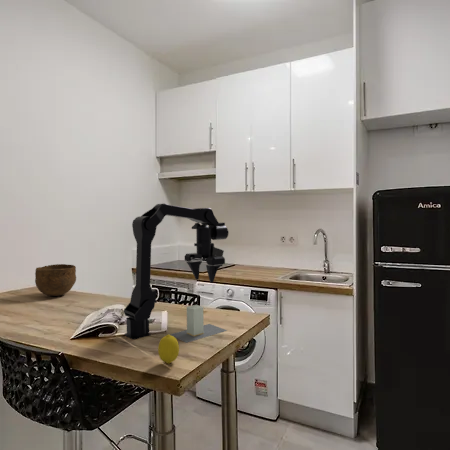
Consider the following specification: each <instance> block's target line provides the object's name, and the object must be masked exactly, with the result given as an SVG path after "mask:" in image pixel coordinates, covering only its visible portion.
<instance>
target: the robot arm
mask: <svg viewBox="0 0 450 450" xmlns="http://www.w3.org/2000/svg"><path fill="white" fill-rule="evenodd" d="M166 216H168V217H175V218H183V219H187V220H188V219H189V220H190V221H192V222H194V225H192V226H191V229H192V230H196V231H195V234H196V237H195V238H196V240H195V241H196V243H195V242H194V244H193V245H194V247H196V252H191V253H185V255H184V261H186V264H187V265H188V267H189V268H190V270H191V273H192V274H193V276H194V278H195V280H199V278H200V267H201V264H202V263H203V262H205V263H206V265H205V266H206V271H207V276H208V280H209V283H210V284H213V283H214V281H215V278H216V274H217V272H218V270H219V268H220V267H223V265H225V264H226V258H225V257H224V252H225V251H224V250H223V249H220V248H218V247H215V244H214V243H213V242H212V241H216V240H217V241H219V240H226V239H227V238H228V237H229V229H228V227H227V226H226V225H225V224H226V222H219V221H218V219H217V217H216V216H215V215H214V212H213V209H212V208H211V207H200V208H190V207H184V206H180V205H179V206H178V205H173V204H171V205H170V204H167V203H157V204H155V205H154V206H153V207H151V208H150V209H149V210H148V211H145V212H144V213H143V214H142V215H141V216H136V217H135V218H134V219H133V221H132V224H131V227H132V232H133V236H134V239H135V241H136V262H135V264H136V265H135V285H134V288H133V289H132V291H131V296H130V302H129V303H128V304H127V306H126V307H125V308H124V309H123V313H124V315H125V316H126V321H125V322H126V333H124V336H126V338H129V339H131V340H138V339H141V338H145V337H149V336H151V333H150V320H149V319H150V317H151V314H152V311H153V309H154V308H155V305H156V303H157V290H155V289H152V286H151V271H152V270H151V266H152V265H151V264H152V262H151V261H152V260H151V259H152V242H153V240H154V238H155V236H156V232H157V228H158V225H160V224H161V223H162V222H163V220H164V218H166Z"/></svg>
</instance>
